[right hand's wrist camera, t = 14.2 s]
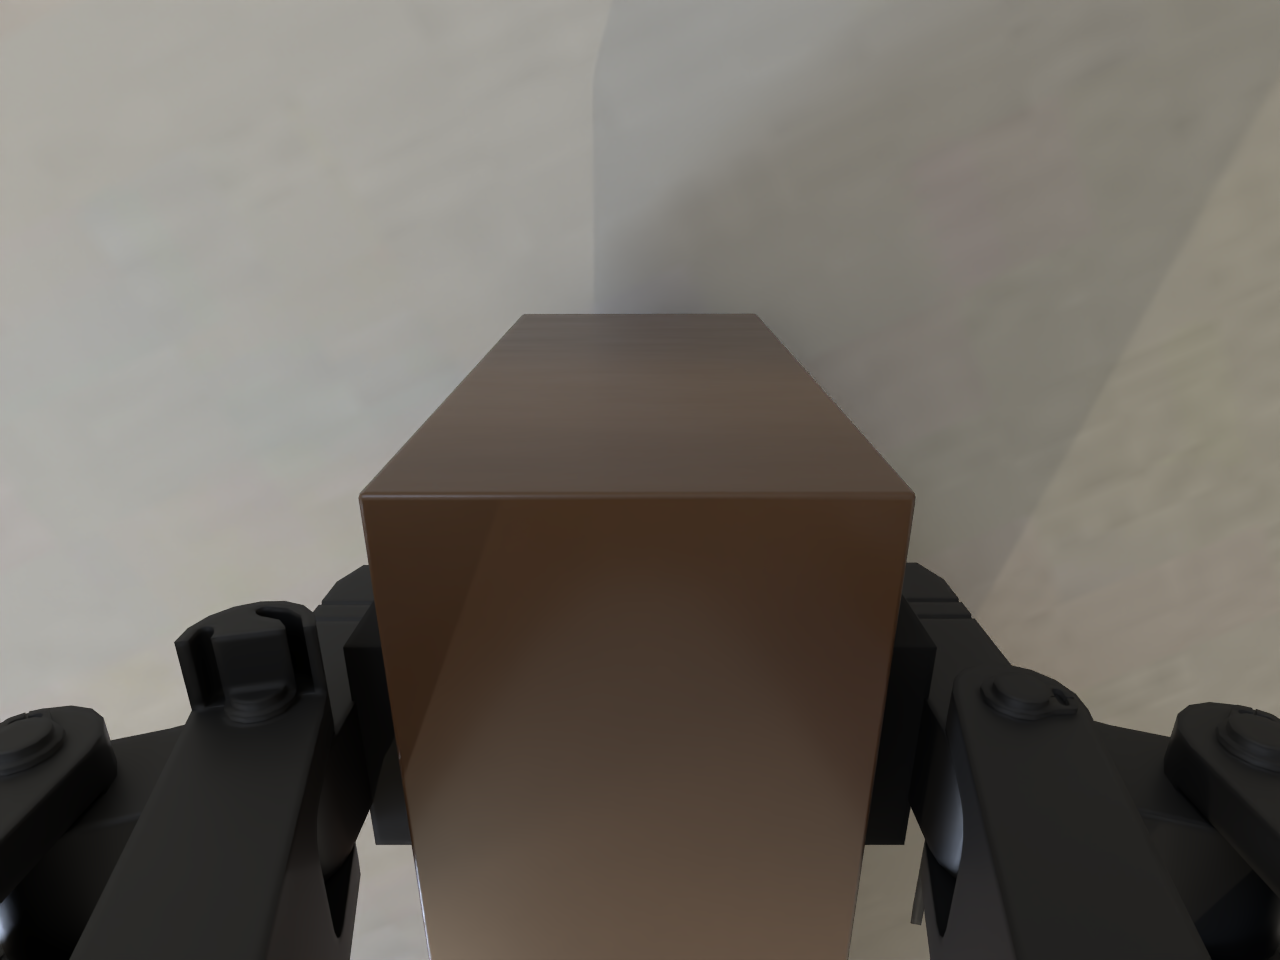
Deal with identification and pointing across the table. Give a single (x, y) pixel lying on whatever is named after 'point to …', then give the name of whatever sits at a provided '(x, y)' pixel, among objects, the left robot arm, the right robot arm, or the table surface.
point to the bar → (637, 644)
